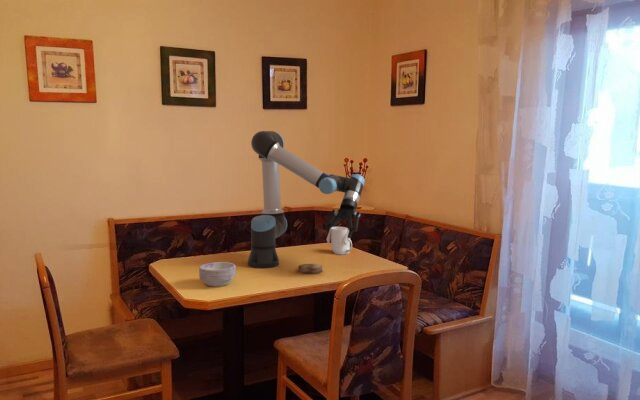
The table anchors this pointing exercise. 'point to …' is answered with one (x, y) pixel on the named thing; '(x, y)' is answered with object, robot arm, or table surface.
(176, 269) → the table surface
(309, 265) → the trivet
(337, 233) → the white cup
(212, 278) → the grey bowl
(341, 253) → the mug
